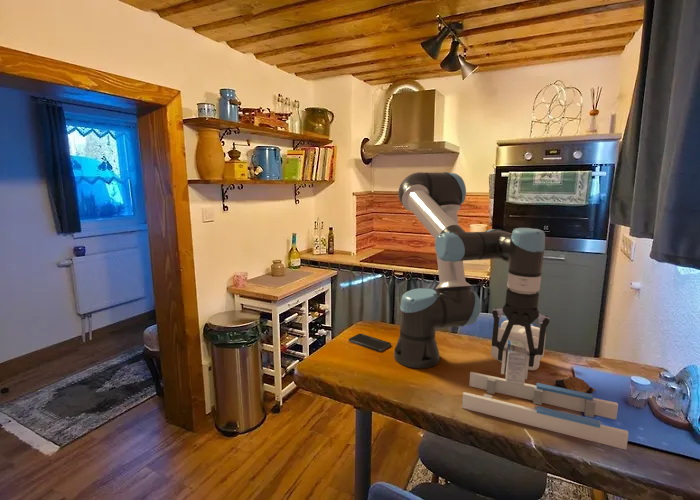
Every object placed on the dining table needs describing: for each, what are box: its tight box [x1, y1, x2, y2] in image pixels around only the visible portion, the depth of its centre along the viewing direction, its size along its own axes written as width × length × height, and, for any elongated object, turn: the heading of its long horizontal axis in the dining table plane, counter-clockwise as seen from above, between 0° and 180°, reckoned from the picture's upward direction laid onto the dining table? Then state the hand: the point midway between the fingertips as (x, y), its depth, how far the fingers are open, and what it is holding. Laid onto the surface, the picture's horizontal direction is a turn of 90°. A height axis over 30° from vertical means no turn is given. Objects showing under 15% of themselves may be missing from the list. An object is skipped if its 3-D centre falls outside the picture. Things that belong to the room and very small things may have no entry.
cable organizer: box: [490, 319, 547, 371], centre depth 126 cm, size 15×11×12 cm
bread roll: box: [553, 376, 596, 395], centre depth 110 cm, size 11×8×4 cm
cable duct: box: [461, 371, 629, 451], centre depth 98 cm, size 36×14×5 cm, turn 64°
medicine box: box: [504, 340, 527, 385], centre depth 99 cm, size 8×4×9 cm, turn 161°
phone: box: [348, 333, 392, 353], centre depth 141 cm, size 8×1×15 cm
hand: (513, 373), depth 100 cm, fingers closed on medicine box, 5 cm apart
